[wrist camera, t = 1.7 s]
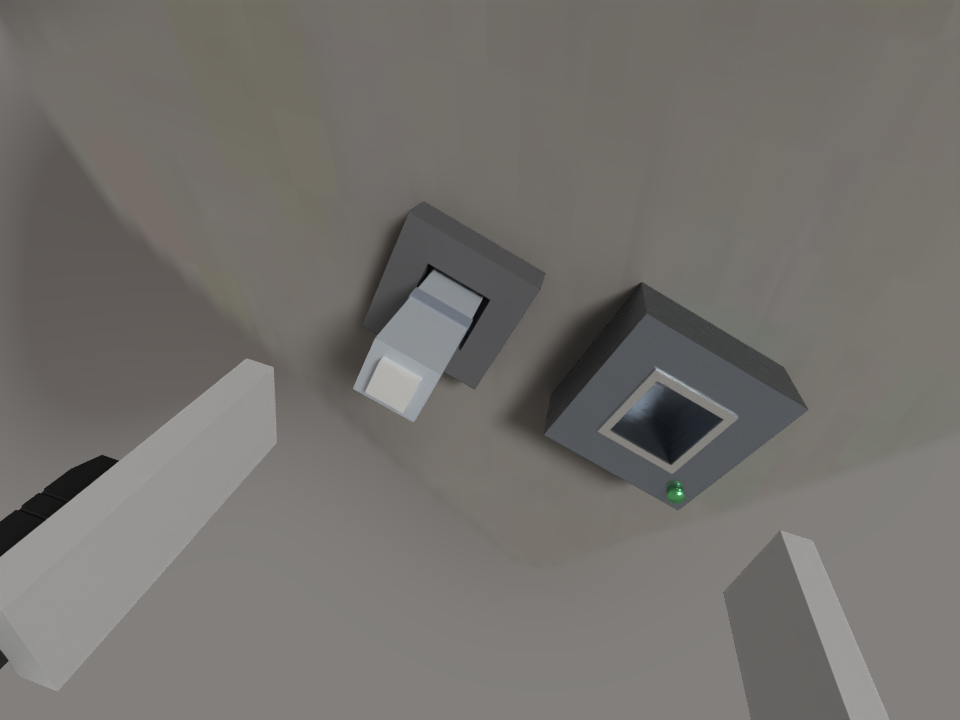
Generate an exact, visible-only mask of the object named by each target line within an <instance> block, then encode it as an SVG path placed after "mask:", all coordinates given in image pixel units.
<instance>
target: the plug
mask: <svg viewBox="0 0 960 720" xmlns="http://www.w3.org/2000/svg"><path fill="white" fill-rule="evenodd" d="M483 297H484V296H483V295H482V294H480V293H478V292H477V291H475V290H473V289H471V288H470V287H468V286H466V285H464V284H463V283H461V282H459V281H458V280H456V279H454V278H452V277H451V276H449V275H447V274H446V273H444V272H442V271H440V270H439V269H437V268H435V269H434V270H433V271H432V272H431V273H430V275H429V276H428V277H427V278H426V279H425V280H424V282H423V283H422V284H421V285H420V286H419V287H418V288H417V287H416V288H415V289H414V290H413V291H412V293H411V294H410V295H409V297H408V299H407V301H406V303H405V304H404V305H403V306H402V307H401V308H400V310H399V311H398V312H397V313H396V314H395V315H394V317H393V318H392V319H391V320H390V321H389V322H388V324H387V325H386V326H385V327H384V328H383V329H382V331H381V332H380V333H379V334H378V335H377V336H376V338H375V339H374V342H373V344H372V346H371V349H370V351H369V353H368V355H367V358H366V360H365V362H364V364H363V367H362V369H361V371H360V373H359V376H358V378H357V380H356V382H355V385H354V387H353V389H354V390H356V391H358V392H360V393H361V394H363V395H365V396H367V397H369V398H370V399H372V400H374V401H376V402H378V403H379V404H381V405H383V406H385V407H387V408H389V409H390V410H392V411H394V412H396V413H398V414H399V415H401V416H403V417H405V418H407V419H408V420H410V421H412V422H414V421H415V420H416V418H417V416H418V415H419V413H420V411H421V409H422V408H423V406H424V404H425V403H426V401H427V399H428V398H429V396H430V394H431V392H432V391H433V389H434V387H435V386H436V384H437V382H438V380H439V379H440V377H441V375H442V373H443V372H444V370H445V368H446V366H447V365H448V363H449V361H450V359H451V358H452V356H453V354H454V353H455V351H456V349H457V347H458V346H459V344H460V342H461V341H462V339H463V337H464V335H465V334H466V332H467V330H468V329H469V327H470V325H471V323H472V321H473V319H472V318H473V316H474V314H475V312H476V310H477V309H478V307H479V305H480V303H481V301H482V299H483Z"/></svg>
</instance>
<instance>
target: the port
mask: <svg viewBox="0 0 960 720" xmlns="http://www.w3.org/2000/svg"><path fill="white" fill-rule="evenodd" d="M806 411H808V408H807V406H806V405H805V403H804V401H803V399H802V398H801V396H800V394H799V393H798V391H797V389H796V387H795V386H794V384H793V382H792V380H791V379H790V377H789V375H788V374H787V372H786V370H785V368H784V367H782V366H781V365H779V364H777V363H776V362H774V361H772V360H771V359H769V358H767V357H766V356H764V355H762V354H761V353H759V352H757V351H756V350H754V349H752V348H751V347H749V346H747V345H746V344H744V343H742V342H741V341H739V340H737V339H736V338H734V337H732V336H731V335H729V334H727V333H726V332H724V331H722V330H721V329H719V328H717V327H716V326H714V325H712V324H711V323H709V322H707V321H706V320H704V319H702V318H701V317H699V316H697V315H696V314H694V313H692V312H691V311H689V310H687V309H686V308H684V307H682V306H681V305H679V304H677V303H676V302H674V301H672V300H671V299H669V298H667V297H666V296H664V295H662V294H661V293H659V292H657V291H656V290H654V289H652V288H651V287H649V286H647V285H646V284H644V283H641V284H640V285H639V287H638V288H637V289H636V290H635V292H634V293H633V294H632V295H631V297H630V298H629V299H628V300H627V302H626V303H625V304H624V305H623V307H622V308H621V309H620V310H619V312H618V313H617V314H616V315H615V317H614V318H613V319H612V320H611V322H610V323H609V324H608V325H607V326H606V328H605V329H604V330H603V331H602V333H601V334H600V335H599V336H598V338H597V339H596V340H595V341H594V343H593V344H592V345H591V346H590V348H589V349H588V350H587V351H586V353H585V354H584V355H583V356H582V358H581V359H580V360H579V361H578V363H577V364H576V365H575V366H574V368H573V369H572V370H571V371H570V373H569V374H568V375H567V376H566V378H565V379H564V380H563V381H562V383H561V384H560V385H559V386H558V388H557V389H556V390H555V391H554V393H553V394H552V395H551V397H550V402H549V408H548V414H547V420H546V425H545V431H544V435H545V436H547V437H548V438H550V439H552V440H554V441H556V442H557V443H559V444H561V445H563V446H564V447H566V448H568V449H570V450H572V451H573V452H575V453H577V454H579V455H580V456H582V457H584V458H586V459H588V460H589V461H591V462H593V463H595V464H596V465H598V466H600V467H602V468H604V469H605V470H607V471H609V472H611V473H612V474H614V475H616V476H618V477H620V478H621V479H623V480H625V481H627V482H628V483H630V484H632V485H634V486H636V487H637V488H639V489H641V490H643V491H644V492H646V493H648V494H650V495H652V496H653V497H655V498H657V499H659V500H661V501H662V502H664V503H666V504H668V505H669V506H671V507H673V508H675V509H677V510H679V509H681V508H682V507H683V506H685V505H686V504H687V503H688V502H690V501H691V500H692V499H694V498H695V497H696V496H697V495H699V494H700V493H701V492H703V491H704V490H705V489H707V488H708V487H709V486H710V485H712V484H713V483H714V482H716V481H717V480H718V479H719V478H721V477H722V476H723V475H725V474H726V473H727V472H729V471H730V470H731V469H732V468H734V467H735V466H736V465H738V464H739V463H740V462H741V461H743V460H744V459H745V458H747V457H748V456H749V455H751V454H752V453H753V452H754V451H756V450H757V449H758V448H760V447H761V446H762V445H763V444H765V443H766V442H767V441H769V440H770V439H771V438H773V437H774V436H775V435H776V434H778V433H779V432H780V431H782V430H783V429H784V428H786V427H787V426H788V425H789V424H791V423H792V422H793V421H795V420H796V419H797V418H798V417H800V416H801V415H802V414H804V413H805V412H806Z"/></svg>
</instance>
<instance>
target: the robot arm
mask: <svg viewBox="0 0 960 720" xmlns="http://www.w3.org/2000/svg"><path fill="white" fill-rule="evenodd" d="M276 432H277V431H276V409H275V388H274V368H273V367H271V366H268V365H265V364H262V363H259V362H256V361H253V360H249V359H245V360H244V361H243V362H241V364H239V365H238V366H237V367H235V368H234V369H233V370H232V371H230V372H229V373H228V374H227V375H225V376H224V377H223V378H222V379H220V380H219V381H218V382H217V383H215V384H214V385H213V386H212V387H211V388H209V389H208V390H207V391H206V392H204V393H203V394H202V395H201V396H199V397H198V398H197V399H196V400H194V401H193V402H192V403H191V404H189V405H188V406H187V407H186V408H184V409H183V410H182V411H181V412H180V413H178V414H177V415H176V416H174V417H173V418H172V419H171V420H170V421H168V422H167V423H166V424H165V425H164V426H162V427H161V428H160V429H159V430H157V431H156V432H155V433H153V434H152V435H151V436H150V437H149V438H147V439H146V440H145V441H143V442H142V443H141V444H140V445H139V446H137V447H136V448H135V449H134V450H132V451H131V452H130V453H129V454H127V455H126V456H125V457H124V458H122V459H121V460H120V461H118V460H115V459H112V458H109V457H107V456H104V455H101V456H99V457H96V458H94V459H92V460H90V461H87V462H85V463H83V464H81V465H79V466H77V467H74V468H72V469H70V470H69V471H67V472H66V473H65V474H64V475H62V476H61V477H59V478H58V479H57V480H55V481H54V482H53V483H51V484H50V485H49V486H47V487H46V488H45V489H44V491H43V492H42V493H38V494H37V495H35V496H34V497H33V498H31V499H30V500H29V501H27V502H26V503H25V504H23V505H22V508H21V509H20V510H15V511H14V512H13V513H11V514H10V515H8V516H7V517H6V518H4V519H3V520H2V521H0V669H1V668H2V667H3V666H4V665H5V664H6V663H7V662H9V663H10V665H11V666H12V667H13V668H14V670H15V671H16V672H17V674H18V675H19V676H20V677H23V678H25V679H28V680H30V681H33V682H36V683H38V684H40V685H43V686H46V687H48V688H51V689H53V690H56V691H58V690H59V689H60V688H61V687H62V686H63V685H64V684H65V682H66V681H67V680H68V679H69V678H70V677H71V676H72V674H73V673H74V672H75V671H76V670H77V669H78V668H79V667H80V665H81V664H82V663H83V662H84V661H85V660H86V659H87V657H88V656H89V655H90V654H91V653H92V652H93V651H94V649H95V648H96V647H97V646H98V645H99V644H100V643H101V642H102V640H103V639H104V638H105V637H106V636H107V635H108V634H109V632H110V631H111V630H112V629H113V628H114V627H115V626H116V625H117V623H118V622H119V621H120V620H121V619H122V618H123V617H124V616H125V614H126V613H127V612H128V611H129V610H130V609H131V608H132V606H133V605H134V604H135V603H136V602H137V601H138V600H139V599H140V597H141V596H142V595H143V594H144V593H145V592H146V591H147V589H148V588H149V587H150V586H151V585H152V584H153V583H154V582H155V580H156V579H157V578H158V577H159V576H160V575H161V574H162V572H163V571H164V570H165V569H166V568H167V567H168V566H169V565H170V563H171V562H172V561H173V560H174V559H175V557H176V556H177V555H178V554H179V553H180V552H181V551H182V549H184V547H185V546H186V545H187V544H188V543H189V542H190V541H191V540H192V538H193V537H194V536H195V535H196V534H197V533H198V532H199V530H200V529H201V528H202V527H203V526H204V525H205V524H206V522H207V521H208V520H209V519H210V518H211V517H212V516H213V515H214V513H215V512H216V511H217V510H218V509H219V508H220V506H222V504H223V503H224V502H225V501H226V500H227V499H228V498H229V496H230V495H231V494H232V493H233V492H234V491H235V490H236V488H237V487H238V486H239V485H240V484H241V483H242V482H243V480H244V479H245V478H246V477H247V476H248V475H249V474H250V473H251V472H252V470H253V469H254V468H255V467H256V466H257V465H258V464H259V462H260V461H261V460H262V459H263V458H264V457H265V456H266V454H267V453H268V452H269V451H270V450H271V449H272V448H273V447H274V445H275V444H276V443H277V433H276ZM724 597H725V602H726V606H727V611H728V615H729V620H730V624H731V629H732V634H733V638H734V643H735V647H736V652H737V656H738V661H739V666H740V671H741V675H742V680H743V684H744V689H745V693H746V698H747V703H748V707H749V712H750V716H751V720H889V718H888V715H887V713H886V711H885V708H884V706H883V704H882V701H881V699H880V697H879V694H878V692H877V690H876V687H875V685H874V683H873V680H872V678H871V676H870V674H869V671H868V669H867V666H866V664H865V662H864V659H863V657H862V655H861V653H860V650H859V648H858V645H857V643H856V641H855V638H854V636H853V634H852V631H851V629H850V627H849V624H848V622H847V620H846V617H845V615H844V613H843V610H842V608H841V606H840V604H839V601H838V599H837V596H836V594H835V592H834V589H833V587H832V585H831V582H830V580H829V578H828V575H827V573H826V571H825V569H824V566H823V564H822V562H821V559H820V557H819V555H818V552H817V550H816V548H815V545H814V543H813V541H812V540H809V539H805V538H802V537H799V536H796V535H793V534H790V533H787V532H784V531H779V532H778V533H777V534H776V535H775V537H774V538H773V539H772V540H771V541H770V542H769V543H768V544H767V545H766V546H765V547H764V549H763V550H762V551H761V552H760V553H759V554H758V555H757V556H756V557H755V558H754V560H752V562H751V563H750V564H749V565H748V566H747V567H746V568H745V569H744V570H743V571H742V572H741V574H740V575H739V576H738V577H737V578H736V579H735V580H734V581H733V582H732V583H731V584H730V585H729V587H728V588H727V589H726V590H725V591H724Z"/></svg>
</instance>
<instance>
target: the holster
mask: <svg viewBox="0 0 960 720" xmlns="http://www.w3.org/2000/svg"><path fill="white" fill-rule="evenodd" d="M435 268H437V269H439V270H440V271H442V272H444V273H446V274H447V275H449V276H451V277H452V278H454V279H456V280H458V281H459V282H461V283H463V284H464V285H466V286H468V287H470V288H471V289H473V290H475V291H477V292H478V293H480V294H482V295H483V296H484V297H483V299H482V301H481V303H480V305H479V307H478V309H477V310H476V312H475V314H474V316H473V318H472V319H473V321H472V323H471V325H470V327H469V329H468V330H467V332H466V334H465V335H464V337H463V339H462V341H461V342H460V344H459V346H458V347H457V349H456V351H455V353H454V354H453V356H452V358H451V359H450V361H449V363H448V365H447V366H446V368H445V370H444V372H445V373H446V374H448V375H450V376H452V377H453V378H455V379H457V380H459V381H460V382H462V383H464V384H466V385H468V386H469V387H471V388H473V389H475V388H476V386H477V385H478V383H479V382H480V380H481V379H482V377H483V376H484V374H485V373H486V371H487V370H488V368H489V367H490V365H491V364H492V362H493V361H494V359H495V358H496V356H497V355H498V353H499V352H500V350H501V348H502V347H503V345H504V344H505V342H506V341H507V339H508V338H509V336H510V335H511V333H512V332H513V330H514V329H515V327H516V326H517V324H518V323H519V321H520V320H521V318H522V317H523V315H524V314H525V312H526V310H527V309H528V307H529V306H530V304H531V303H532V301H533V300H534V298H535V297H536V295H537V294H538V292H539V291H540V289H541V285H542V282H543V279H544V276H545V273H544V272H542V271H541V270H539V269H537V268H535V267H534V266H532V265H530V264H529V263H527V262H525V261H524V260H522V259H520V258H519V257H517V256H515V255H513V254H512V253H510V252H508V251H507V250H505V249H503V248H502V247H500V246H498V245H497V244H495V243H493V242H491V241H490V240H488V239H486V238H485V237H483V236H481V235H480V234H478V233H476V232H474V231H473V230H471V229H469V228H468V227H466V226H464V225H463V224H461V223H459V222H458V221H456V220H454V219H452V218H451V217H449V216H447V215H446V214H444V213H442V212H441V211H439V210H437V209H436V208H434V207H432V206H430V205H429V204H427V203H425V202H422V203H421V204H419V205H418V206H417V207H415V208H414V209H413V210H411V211H410V212H409V213H408V215H407V218H406V220H405V223H404V225H403V228H402V230H401V232H400V235H399V237H398V240H397V242H396V245H395V247H394V249H393V252H392V254H391V257H390V259H389V261H388V264H387V266H386V269H385V271H384V274H383V276H382V278H381V281H380V283H379V286H378V288H377V291H376V293H375V295H374V298H373V300H372V303H371V305H370V308H369V310H368V312H367V315H366V317H365V320H364V322H363V325H362V326H363V327H365V328H366V329H368V330H370V331H372V332H374V333H375V334H377V335H378V334H379V333H380V332H381V331H382V329H383V328H384V327H385V326H386V325H387V324H388V322H389V321H390V320H391V319H392V318H393V317H394V315H395V314H396V313H397V312H398V311H399V310H400V308H401V307H402V306H403V305H404V304H405V303H406V301H407V299H408V297H409V295H410V294H411V293H412V291H413V290H414V289H415V288H416V287H417V288H418V287H419V286H420V285H421V284H422V283H423V282H424V280H425V279H426V278H427V277H428V276H429V275H430V273H431V272H432V271H433V270H434V269H435Z"/></svg>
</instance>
